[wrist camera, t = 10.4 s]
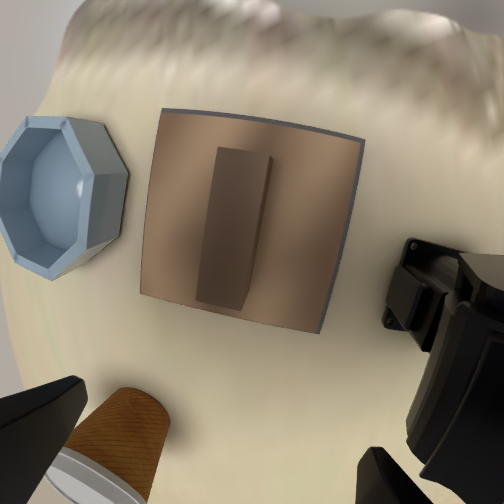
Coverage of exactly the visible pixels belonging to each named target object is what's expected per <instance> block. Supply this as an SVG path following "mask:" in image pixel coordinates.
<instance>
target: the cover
mask: <svg viewBox="0 0 504 504" xmlns="http://www.w3.org/2000/svg"><path fill="white" fill-rule="evenodd" d="M360 145H361V143H359V142H355V141H351V140H347V139H343V138H339V137H335V136H331V135H326V134H322V133H317V132H312V131H307V130H302V129H297V128H292V127H287V126H281V125H275V124H269V123H263V122H256V121H249V120H242V119H234V118H225V117H216V116H206V115H195V114H181V113H164V112H162V113H161V118H160V123H159V128H158V134H157V139H156V145H155V151H154V157H153V164H152V171H151V178H150V185H149V193H148V202H147V210H146V220H145V231H144V243H143V256H142V273H141V294H144V295H147V296H151V297H155V298H158V299H162V300H166V301H170V302H173V303H177V304H181V305H185V306H189V307H193V308H197V309H201V310H206V311H210V312H214V313H218V314H223V315H227V316H231V317H236V318H240V319H245V320H250V321H254V322H259V323H264V324H269V325H274V326H279V327H284V328H289V329H294V330H300V331H305V332H311V333H316V332H317V329H318V325H319V322H320V319H321V315H322V312H323V308H324V305H325V301H326V298H327V294H328V291H329V287H330V283H331V279H332V276H333V272H334V268H335V264H336V260H337V256H338V252H339V248H340V244H341V240H342V235H343V231H344V227H345V222H346V218H347V213H348V208H349V204H350V199H351V194H352V189H353V184H354V179H355V173H356V168H357V162H358V156H359V151H360Z"/></svg>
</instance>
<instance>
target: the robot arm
mask: <svg viewBox="0 0 504 504" xmlns="http://www.w3.org/2000/svg"><path fill="white" fill-rule="evenodd" d="M412 243H415V247H414V248H413V249H411V244H412ZM386 303H387V307H386V310H385V313H384V315H383V318H382V324H383V326H384V327H385V328H387V329H393V330H399V331H407V332H409V333H410V334H411V336H412V337H413V339H414V340H415V342H416V343H417V344H418V346H419V348H420V349H421V351H423V352H429V354H430V356H429V359H428V362H427V365H426V368H425V371H424V374H423V376H422V379H421V382H420V385H419V387H418V390H417V393H416V395H415V398H414V400H413V403H412V405H411V408H410V410H409V413H408V416H407V419H406V427H407V435H408V438H407V440H406V443H407V445H408V446H409V448H410V450H411V452H412V453H413V454H414V455H415V456H416V457H417V458H418V459H419V460H420V461H421V462H422V463H423V464H425V466H424V468H423V469H422V471H421V472H420V474H419V476H420V477H421V478H423V479H426V480H430V481H433V482H437V483H439V484H441V485H443V486H444V487H446V488H448V489H450V490H452V491H453V492H454V493H455V494H456V495H458V496H459V497H460V498H461V499H462V500H463V501H464V502H465V503H466V504H504V255H490V254H472V253H467V252H464V251H460V250H457V249H453V248H449V247H446V246H442V245H439V244H435V243H431V242H428V241H424V240H420V239H416V238H410V239H408V240H407V242H406V244H405V248H404V252H403V255H402V259H401V262H400V265H399V266H398V267H397V268H396V270H395V273H394V277H393V280H392V283H391V286H390V290H389V293H388V296H387V299H386ZM389 319H392V320H391V322H390V323H387V321H388V320H389ZM87 401H88V395H87V391H86V386H85V382H84V380H83V379H81V378H79V377H77V376H75V375H71V376H68V377H65V378H62V379H59V380H56V381H53V382H50V383H47V384H44V385H41V386H38V387H35V388H32V389H29V390H26V391H23V392H20V393H16V394H13V395H10V396H6V397H3V398H0V504H27V502H28V501H29V499H30V497H31V496H32V494H33V492H34V491H35V489H36V488H37V486H38V484H39V483H40V481H41V480H42V478H43V477H44V475H45V473H46V472H47V470H48V469H49V467H50V466H51V464H52V463H53V461H54V460H55V458H56V456H57V455H58V453H59V452H60V450H61V449H62V447H63V446H64V444H65V443H66V441H67V440H68V438H69V437H70V435H71V433H72V431H73V429H74V427H75V425H76V423H77V421H78V419H79V417H80V415H81V413H82V412H83V410H84V408H85V406H86V404H87ZM355 504H433V503H432V502H431V500H430V499H429V498H428V497H427V496H426V495H425V494H424V493H423V492H422V491H421V490H420V488H419V487H418V486H417V485H416V484H415V483H414V482H413V481H412V480H411V478H410V477H409V476H408V475H407V474H406V473H405V472H404V471H403V470H402V468H401V467H400V466H399V465H398V464H397V463H396V462H395V461H394V459H393V458H392V457H391V456H390V455H389V454H388V453H387V451H386V450H385V449H384V448H383V447H370V448H368V449H367V451H366V452H365V454H364V455H363V457H362V458H361V459H360V461H359V463H358V466H357V485H356V500H355Z"/></svg>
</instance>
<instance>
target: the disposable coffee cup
mask: <svg viewBox="0 0 504 504" xmlns="http://www.w3.org/2000/svg"><path fill="white" fill-rule="evenodd" d="M169 425H170V419H169V416H168V414H167V412H166V410H165V409H164V408H163V406H162V405H161V404H160V403H158V402H157V401H156V400H155V399H154V398H152V397H151V396H149V395H148V394H146V393H144V392H142V391H139V390H136V389H132V388H121V389H119V390H117V391H116V392H115V393H114V394H112V395H111V396H110V397H109V398H108V399H107V400H106V401H105V402H104V403H103V404H101V405H100V406H99V407H98V408H97V409H96V410H95V411H93V412H92V413H91V414H90V415H89V416H88V417H87V418H86V419H85V420H84V421H82V422H81V423H80V424H79V425H78V426H77V427H76V428H75V429H73V431H72V433H71V435H70V437H69V438H68V440H67V441H66V443H65V444H64V446H63V447H62V449H61V450H60V452H59V453H58V455H57V456H56V458H55V460H54V461H53V463H52V464H51V466H50V467H49V469H48V470H47V472H46V473H45V475H44V478H45V479H46V480H47V481H48V482H49V484H50V485H51V486H52V487H53V488H54V489H55V490H56V491H58V492H59V493H60V494H61V495H62V496H63V497H65V498H66V499H67V500H68V501H70V502H71V503H72V504H147V501H148V498H149V494H150V490H151V488H152V483H153V480H154V476H155V473H156V469H157V466H158V462H159V459H160V456H161V452H162V448H163V445H164V442H165V438H166V435H167V432H168V428H169Z"/></svg>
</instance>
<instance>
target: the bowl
mask: <svg viewBox="0 0 504 504" xmlns="http://www.w3.org/2000/svg"><path fill="white" fill-rule="evenodd" d="M127 177H128V172H127V170H126V168H125V166H124V164H123V163H122V161H121V159H120V157H119V155H118V153H117V151H116V149H115V147H114V145H113V144H112V142H111V140H110V138H109V136H108V134H107V132H106V130H105V128H104V126H103V125H102V123H98V122H93V121H88V120H82V119H77V118H71V117H49V116H26V118H25V119H24V121H23V122H22V123H21V125H20V126H19V127H18V129H17V130H16V131H15V133H14V134H13V136H12V137H11V139H10V140H9V141H8V143H7V144H6V146H5V147H4V149H3V151H2V152H1V154H0V231H1V233H2V235H3V238H4V240H5V242H6V245H7V247H8V249H9V251H10V254H11V256H12V258H13V260H14V262H15V263H17V264H18V265H20V266H22V267H24V268H26V269H28V270H30V271H32V272H34V273H36V274H38V275H40V276H42V277H44V278H46V279H48V280H50V281H53V280H55V279H57V278H59V277H61V276H62V275H64V274H66V273H68V272H70V271H72V270H74V269H76V268H78V267H80V266H82V265H84V264H85V263H86V262H87V261H88V260H90V259H91V258H92V257H93V256H94V255H96V254H97V253H98V252H99V251H101V250H102V249H103V248H104V247H106V246H107V245H108V244H109V243H111V242H112V241H113V240H114V239H116V238H117V237H118V236H119V231H120V223H121V215H122V210H123V205H124V196H125V189H126V183H127Z"/></svg>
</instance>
